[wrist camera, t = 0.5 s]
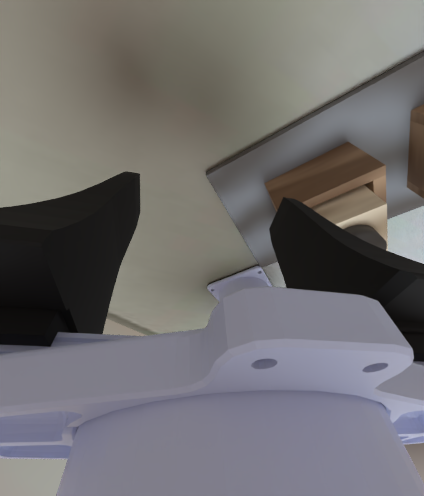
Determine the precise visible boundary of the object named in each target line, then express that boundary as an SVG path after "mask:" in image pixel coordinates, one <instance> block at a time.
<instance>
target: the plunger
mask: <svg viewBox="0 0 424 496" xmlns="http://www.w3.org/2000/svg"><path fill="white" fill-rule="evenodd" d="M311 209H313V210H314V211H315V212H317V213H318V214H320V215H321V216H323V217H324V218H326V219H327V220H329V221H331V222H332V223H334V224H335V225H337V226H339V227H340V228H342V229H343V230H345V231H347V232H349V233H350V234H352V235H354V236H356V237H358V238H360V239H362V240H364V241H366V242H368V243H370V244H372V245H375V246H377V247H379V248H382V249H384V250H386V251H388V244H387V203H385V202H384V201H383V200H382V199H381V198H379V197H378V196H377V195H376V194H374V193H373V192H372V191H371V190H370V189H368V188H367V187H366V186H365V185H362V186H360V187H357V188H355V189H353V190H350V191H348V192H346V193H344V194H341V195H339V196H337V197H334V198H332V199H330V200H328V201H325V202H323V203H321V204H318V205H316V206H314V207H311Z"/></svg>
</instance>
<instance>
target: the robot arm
mask: <svg viewBox="0 0 424 496" xmlns="http://www.w3.org/2000/svg"><path fill="white" fill-rule="evenodd" d="M139 214H140V174H138V173H132V172H123V173H121V174H119V175H116V176H114V177H112V178H110V179H108V180H106V181H104V182H102V183H100V184H97V185H95V186H92V187H90V188H87V189H85V190H83V191H80V192H77V193H74V194H71V195H67V196H64V197H60V198H56V199H52V200H47V201H42V202H37V203H32V204H26V205H19V206H12V207H3V208H0V458H14V459H15V458H16V459H18V458H19V459H68V460H67V463H66V466H65V470H64V473H63V476H62V479H61V482H60V485H59V488H58V491H57V494H56V496H424V483H423V481H422V479H421V477H420V475H419V474H418V471H417V469H416V467H415V466H414V464H413V462H412V460H411V458H410V456H409V454H408V452H407V450H406V448H405V446H404V444H414V443H424V264H422V263H419V262H416V261H413V260H410V259H407V258H405V257H402V256H399V255H396V254H394V253H391V252H389V251H386V250H384V249H382V248H379V247H377V246H375V245H372V244H370V243H368V242H366V241H364V240H362V239H360V238H358V237H356V236H354V235H352V234H350V233H349V232H347V231H345V230H343V229H342V228H340V227H339V226H337V225H335V224H334V223H332V222H331V221H329V220H327V219H326V218H324V217H323V216H321V215H320V214H318V213H317V212H315V211H314V210H313V209H311V208H310V207H308V206H306V205H305V204H303V203H302V202H300V201H298V200H296V199H292V198H286V197H283V199H282V201H281V203H280V206H279V208H278V210H277V212H276V215H275V217H274V219H273V221H272V224H271V226H270V228H269V231H270V237H271V242H272V246H273V249H274V252H275V255H276V258H277V260H278V263H279V266H280V269H281V271H282V274H283V277H284V280H285V284H286V288H281V287H273V286H272V284H271V283H270V281H269V279H268V277H267V276H266V274H265V272H264V271H263V269H262V268H261V267H260V266H255V267H253V268H250V269H248V270H245V271H243V272H240V273H237V274H235V275H232V276H230V277H227V278H225V279H222V280H219V281H217V282H214V283H212V284H209V285H208V286H207V289H208V290H209V291H210V292H211V293H212V295H213V296H214V297H215V298H216V299H217V300H218V301H219V304H218V305H217V306H216V307H215V308H214V310H213V311H212V313H211V316H210V319H209V322H208V325H207V326H206V328H204V329H196V330H188V331H180V332H172V333H164V334H156V335H148V336H125V335H105V334H102V333H103V329H104V324H105V321H106V317H107V313H108V308H109V304H110V301H111V297H112V293H113V289H114V285H115V282H116V278H117V275H118V271H119V268H120V265H121V262H122V260H123V257H124V255H125V253H126V250H127V248H128V246H129V243H130V241H131V239H132V236H133V234H134V231H135V229H136V226H137V222H138V218H139ZM259 271H260V272H259Z"/></svg>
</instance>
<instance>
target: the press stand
mask: <svg viewBox="0 0 424 496" xmlns="http://www.w3.org/2000/svg"><path fill="white" fill-rule="evenodd" d="M206 176H207V178H208V179H209V181H210V183H211V185H212V186H213V188H214V190H215V191H216V193H217V195H218V196H219V198H220V200H221V201H222V203H223V205H224V206H225V208H226V210H227V212H228V213H229V215H230V217H231V218H232V220H233V222H234V223H235V225H236V227H237V228H238V230H239V232H240V233H241V235H242V237H243V239H244V240H245V242H246V244H247V245H248V247H249V249H250V250H251V252H252V254H253V255H254V257H255V259H256V260H257V262H258V264H259V265H260V267H261V268H262V267H264V266H267V265H270V264H272V263H275V262H277V261H278V260H277V258H276V255H275V252H274V249H273V246H272V242H271V237H270V231H269V228H270V226H271V224H272V221H273V219H274V217H275V215H276V212H277V210H278V208H279V206H280V203H281V201H282V199H283V197H286V198H292V199H296V200H298V201H300V202H302V203H303V204H305V205H306V206H308V207H310V208H311V207H314V206H316V205H318V204H321V203H323V202H325V201H328V200H330V199H332V198H334V197H337V196H339V195H341V194H344V193H346V192H348V191H350V190H353V189H355V188H357V187H360V186H362V185H365V186H366V187H367V188H368V189H370V190H371V191H372V192H373V193H374V194H376V195H377V196H378V197H379V198H381V199H382V200H383V201H384V202H385V203H387V219H389V218H392V217H395V216H397V215H400V214H403V213H405V212H408V211H410V210H413V209H416V208H418V207H421V206H423V205H424V51H423V52H421V53H420V54H418V55H416V56H414V57H412V58H411V59H409V60H407V61H405V62H403V63H402V64H400V65H398V66H396V67H394V68H393V69H391V70H389V71H387V72H385V73H384V74H382V75H380V76H378V77H376V78H375V79H373V80H371V81H369V82H367V83H366V84H364V85H362V86H360V87H358V88H357V89H355V90H353V91H351V92H349V93H348V94H346V95H344V96H342V97H340V98H339V99H337V100H335V101H333V102H331V103H330V104H328V105H326V106H324V107H322V108H321V109H319V110H317V111H315V112H313V113H312V114H310V115H308V116H306V117H304V118H303V119H301V120H299V121H297V122H295V123H294V124H292V125H290V126H288V127H286V128H285V129H283V130H281V131H279V132H277V133H276V134H274V135H272V136H270V137H268V138H267V139H265V140H263V141H261V142H259V143H258V144H256V145H254V146H252V147H250V148H249V149H247V150H245V151H243V152H241V153H240V154H238V155H236V156H234V157H232V158H231V159H229V160H227V161H225V162H223V163H222V164H220V165H218V166H216V167H214V168H213V169H211V170H209V171H207V172H206Z"/></svg>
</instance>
